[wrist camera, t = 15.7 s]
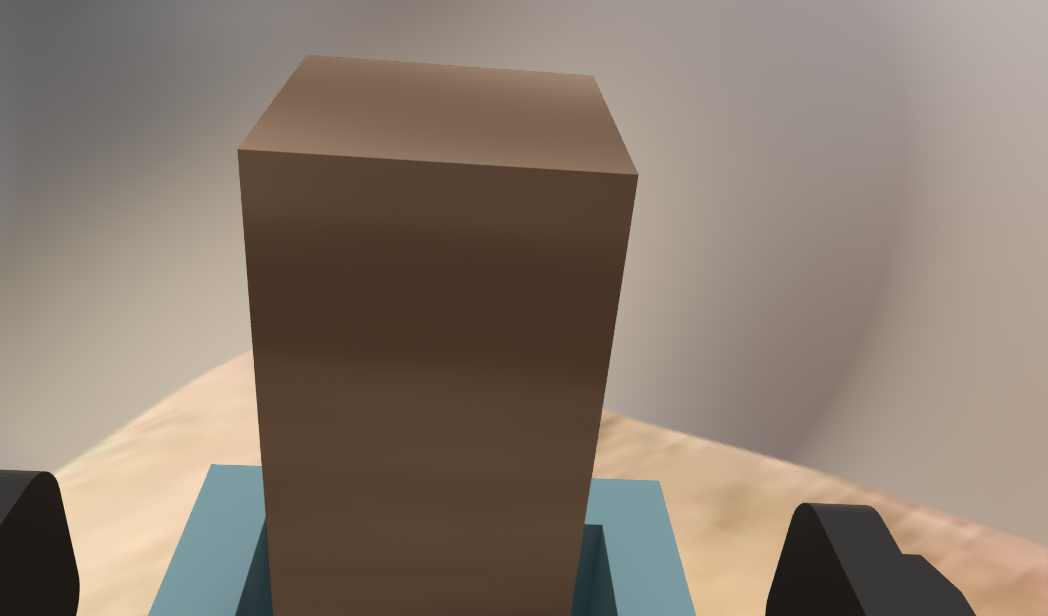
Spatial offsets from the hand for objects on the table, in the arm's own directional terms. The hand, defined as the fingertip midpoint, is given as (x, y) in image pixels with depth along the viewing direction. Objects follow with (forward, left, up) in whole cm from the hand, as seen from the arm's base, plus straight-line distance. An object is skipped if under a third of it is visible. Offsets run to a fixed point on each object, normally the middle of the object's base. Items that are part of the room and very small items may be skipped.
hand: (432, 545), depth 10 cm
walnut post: (-1, -3, -10) cm, 10 cm away
